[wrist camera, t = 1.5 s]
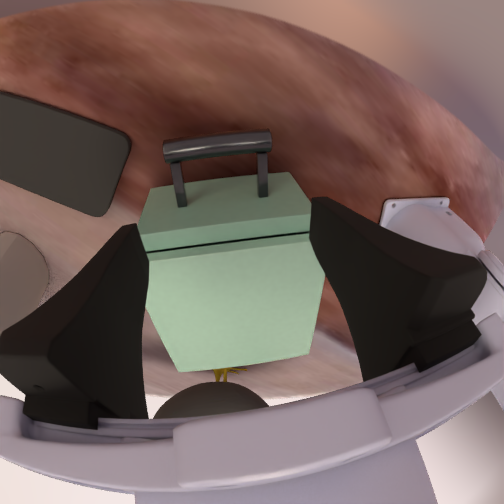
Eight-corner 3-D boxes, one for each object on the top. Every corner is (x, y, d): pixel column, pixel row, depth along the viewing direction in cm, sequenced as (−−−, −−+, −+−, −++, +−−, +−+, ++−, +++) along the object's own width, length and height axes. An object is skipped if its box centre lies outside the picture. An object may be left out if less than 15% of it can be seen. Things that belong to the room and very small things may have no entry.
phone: (104, 222, 20) (-25, 169, 14) (106, 216, 21) (-21, 165, 14) (134, 139, 17) (-13, 89, 10) (136, 136, 18) (-8, 87, 11)
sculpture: (275, 376, 42) (301, 490, 27) (114, 359, 34) (106, 494, 18) (302, 345, 37) (343, 479, 22) (113, 320, 29) (96, 492, 13)
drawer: (139, 133, 17) (112, 164, 12) (289, 116, 18) (324, 139, 13) (180, 295, 26) (178, 350, 22) (285, 282, 27) (302, 333, 23)
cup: (33, 301, 25) (7, 370, 17) (-15, 259, 20) (-52, 324, 13) (60, 268, 23) (27, 350, 15) (5, 217, 18) (-47, 288, 11)
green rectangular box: (148, 198, 21) (127, 264, 14) (293, 180, 22) (331, 238, 16) (179, 305, 29) (178, 372, 22) (287, 291, 30) (308, 354, 23)
